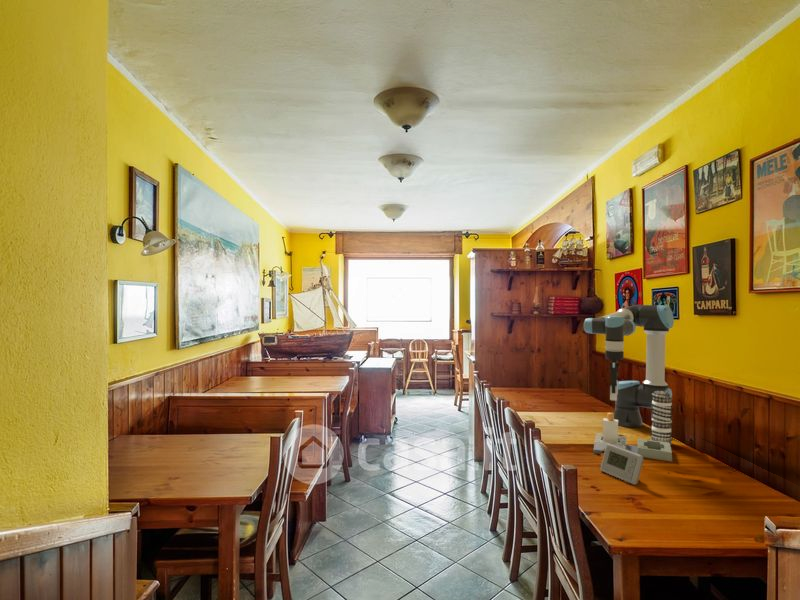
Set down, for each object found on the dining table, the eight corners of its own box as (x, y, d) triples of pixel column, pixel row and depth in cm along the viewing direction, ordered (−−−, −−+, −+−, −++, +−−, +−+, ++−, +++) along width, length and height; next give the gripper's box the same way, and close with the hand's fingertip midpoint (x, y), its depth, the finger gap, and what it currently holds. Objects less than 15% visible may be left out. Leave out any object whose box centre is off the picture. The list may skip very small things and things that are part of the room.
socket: (593, 449, 202) (594, 441, 202) (596, 440, 216) (596, 432, 216) (625, 454, 197) (625, 446, 197) (626, 444, 210) (626, 436, 210)
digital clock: (597, 470, 182) (598, 443, 182) (617, 469, 184) (618, 442, 184) (626, 487, 166) (627, 457, 166) (648, 485, 168) (648, 456, 168)
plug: (602, 447, 206) (603, 413, 205) (603, 444, 210) (603, 411, 209) (617, 449, 203) (618, 415, 203) (617, 446, 207) (618, 413, 207)
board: (593, 453, 202) (593, 449, 202) (595, 443, 216) (595, 440, 216) (672, 465, 189) (672, 461, 189) (670, 454, 202) (670, 450, 202)
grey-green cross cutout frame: (637, 456, 195) (637, 447, 195) (637, 446, 208) (637, 438, 208) (671, 461, 189) (671, 452, 189) (669, 450, 202) (669, 442, 202)
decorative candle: (671, 450, 207) (672, 394, 207) (648, 446, 213) (649, 392, 213) (674, 445, 215) (675, 391, 214) (651, 441, 220) (652, 389, 220)
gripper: (606, 346, 222) (606, 390, 222) (603, 353, 199) (603, 402, 200) (624, 347, 218) (623, 392, 219) (623, 354, 196) (622, 404, 196)
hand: (614, 397), depth 209 cm, fingers open, 13 cm apart
